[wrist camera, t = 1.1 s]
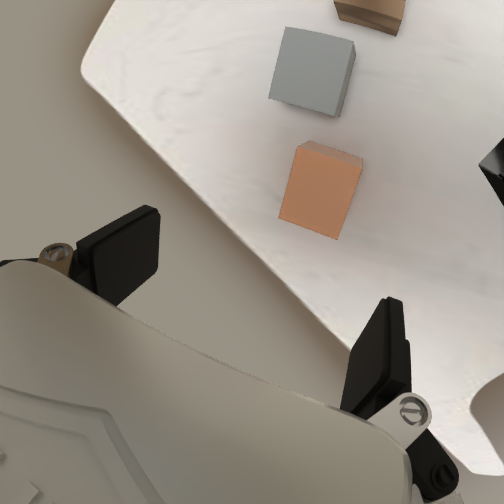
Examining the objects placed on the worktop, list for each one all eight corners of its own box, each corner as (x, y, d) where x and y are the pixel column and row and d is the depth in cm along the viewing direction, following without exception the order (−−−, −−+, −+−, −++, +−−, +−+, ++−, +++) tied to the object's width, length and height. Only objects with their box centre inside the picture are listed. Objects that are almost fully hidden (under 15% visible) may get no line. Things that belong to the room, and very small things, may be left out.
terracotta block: (363, 159, 24) (362, 168, 20) (342, 218, 27) (337, 239, 23) (309, 140, 25) (297, 146, 21) (292, 200, 28) (278, 218, 24)
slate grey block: (355, 54, 20) (353, 41, 16) (339, 116, 23) (334, 116, 19) (299, 40, 21) (285, 26, 17) (285, 100, 24) (268, 98, 20)
